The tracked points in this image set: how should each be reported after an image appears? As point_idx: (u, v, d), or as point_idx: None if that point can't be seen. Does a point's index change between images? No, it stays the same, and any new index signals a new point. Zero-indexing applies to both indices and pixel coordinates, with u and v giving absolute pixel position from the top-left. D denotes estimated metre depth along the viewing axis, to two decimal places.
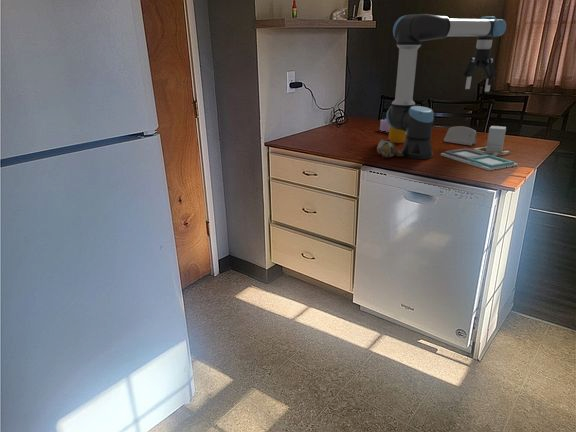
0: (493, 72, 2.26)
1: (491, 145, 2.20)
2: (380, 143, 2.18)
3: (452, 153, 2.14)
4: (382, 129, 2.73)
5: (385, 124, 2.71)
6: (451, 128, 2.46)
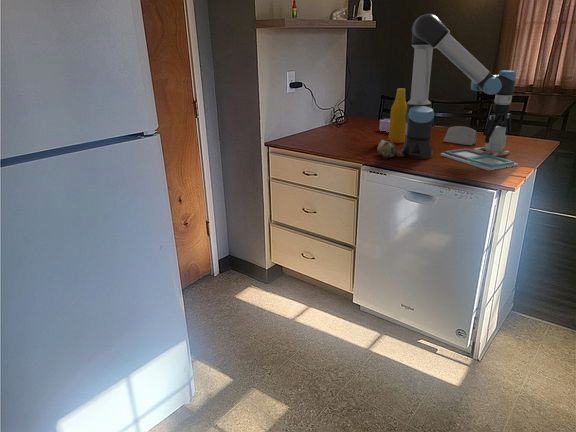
0: (485, 130, 2.16)
1: (491, 145, 2.20)
2: (380, 143, 2.18)
3: (452, 153, 2.14)
4: (381, 129, 2.74)
5: (384, 124, 2.71)
6: (451, 128, 2.46)
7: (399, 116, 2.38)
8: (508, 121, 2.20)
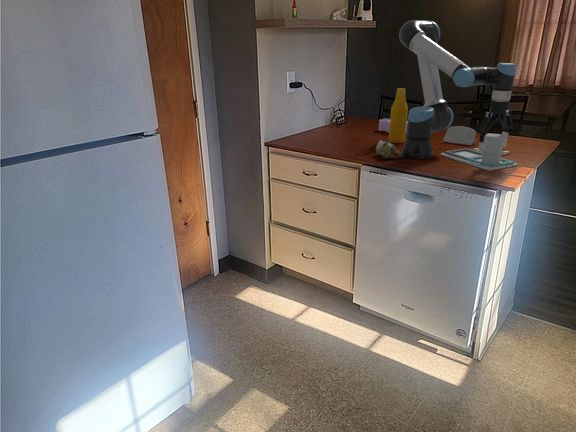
0: (480, 127, 1.93)
1: (487, 155, 1.99)
2: (379, 144, 2.16)
3: (452, 153, 2.14)
4: (381, 129, 2.74)
5: (384, 124, 2.72)
6: (450, 128, 2.46)
7: (399, 116, 2.38)
8: (508, 118, 1.97)
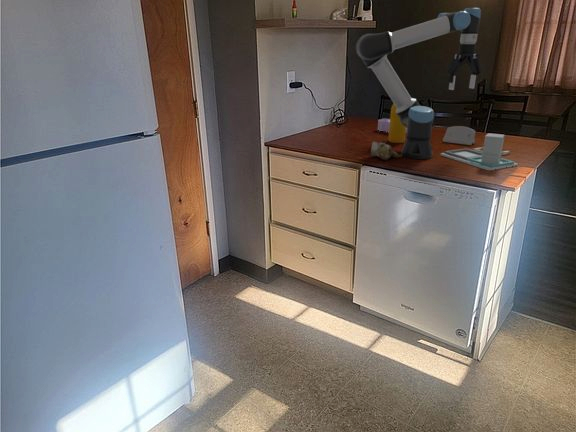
0: (449, 69, 2.11)
1: (487, 155, 1.99)
2: (374, 145, 2.14)
3: (452, 153, 2.14)
4: (380, 129, 2.74)
5: (383, 124, 2.72)
6: (450, 128, 2.46)
7: None
8: (476, 61, 2.15)
